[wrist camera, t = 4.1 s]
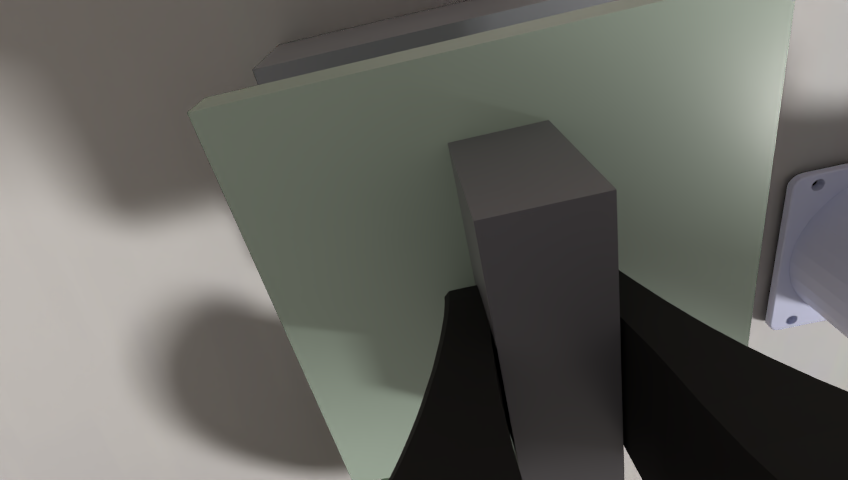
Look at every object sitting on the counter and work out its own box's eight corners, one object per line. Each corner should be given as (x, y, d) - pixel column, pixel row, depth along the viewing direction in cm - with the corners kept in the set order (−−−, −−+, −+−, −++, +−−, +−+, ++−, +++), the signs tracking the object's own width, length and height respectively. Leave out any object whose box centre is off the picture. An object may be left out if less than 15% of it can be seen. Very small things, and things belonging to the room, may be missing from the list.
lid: (731, -35, 10) (999, -24, 5) (701, 358, 15) (829, 523, 10) (217, 87, 10) (99, 185, 6) (356, 428, 15) (346, 613, 11)
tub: (576, -26, 17) (627, -18, 13) (589, 236, 22) (630, 291, 18) (278, 45, 17) (252, 69, 14) (358, 286, 22) (354, 348, 19)
